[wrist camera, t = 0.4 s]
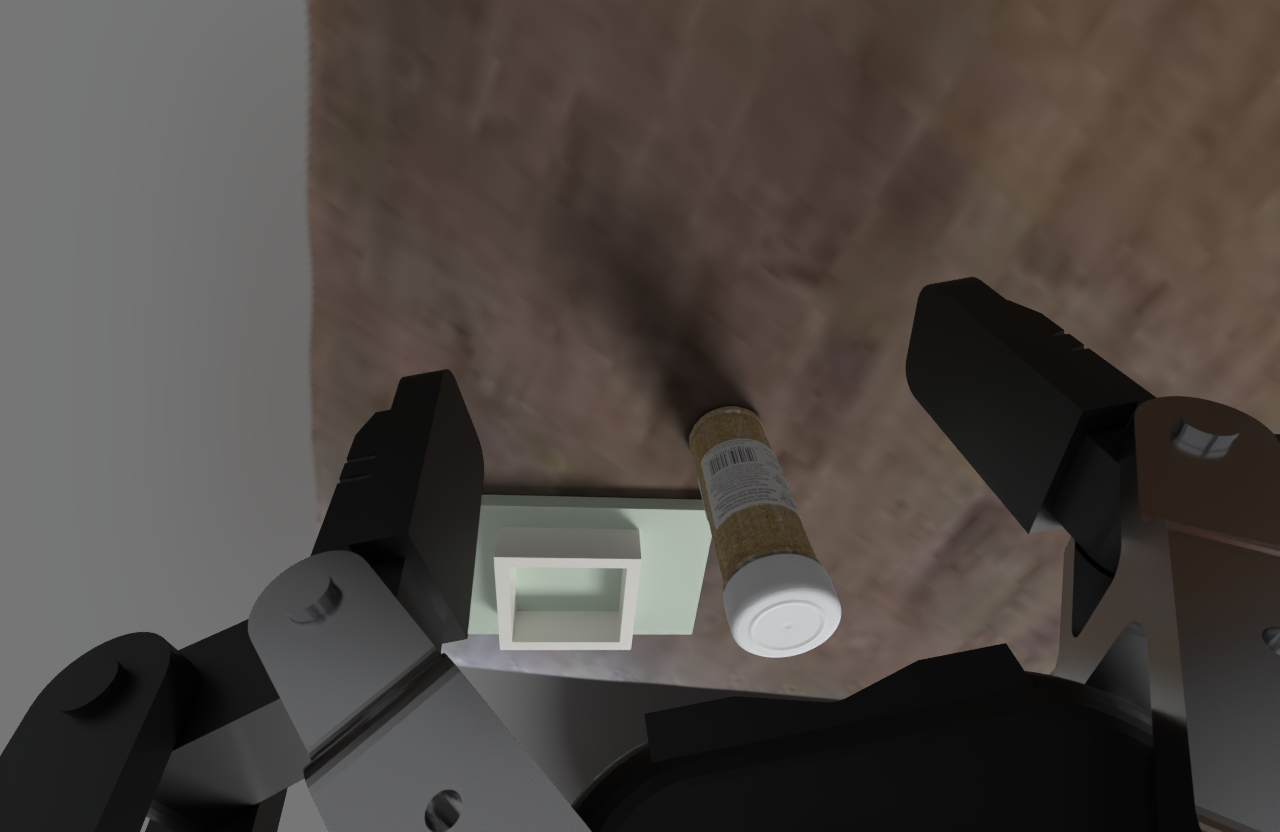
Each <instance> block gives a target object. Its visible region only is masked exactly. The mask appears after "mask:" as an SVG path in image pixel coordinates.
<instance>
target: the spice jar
mask: <svg viewBox="0 0 1280 832" xmlns="http://www.w3.org/2000/svg"><path fill="white" fill-rule="evenodd" d="M689 446H690V451H691V452H692V455H693V457H694V460H695V463H696V468H697V473H698V483H699V488H700V492H701V497H702V501H703V505H704V510H705V514H706V518H707V520H708V522H709V525H710V530H711V535H712V538H713V543H714V547H715V551H716V554H717V559H718V562H719V566H720V571H721V574H722V579H723V582H724V586H723V592H724V594H723V602H724V607H725V611H726V616H727V619H728V623H729V627H730V630H731V633H732V636H733V638H734V639H735V641H736V642H737V643H738V645H739V646H741V647H742V648H743V649H745V650H746V651H748V652H750V653H753V654H756V655H759V656H764V657H788V656H794V655H797V654H801V653H804V652H806V651H809V650H811V649H813V648H815V647H817V646H818V645H820V644H822V643H823V642H824V641H826V640H827V639H828V638H829V637H830V636H831V635H832V634H833V632H834V631H835V630H836V628H837V627H838V624H839V622H840V618H841V607H840V603H839V600H838V597H837V595H836V592H835V589H834V587H833V584H832V582H831V580H830V577H829V575H828V573H827V572H826V570H825V569H824V568H823V566H822V565H821V563H820V562H819V560H818V559H817V558H816V555H815V553H814V551H813V548H812V546H811V544H810V542H809V539H808V536H807V534H806V531H805V528H804V524H803V521H802V518H801V516H800V514H799V511H798V509H797V507H796V504H795V502H794V499H793V497H792V494H791V492H790V490H789V487H788V485H787V482H786V480H785V478H784V475H783V473H782V470H781V468H780V466H779V463H778V461H777V458H776V456H775V454H774V453H773V451H772V450H771V447H770V444H769V442H768V440H767V437H766V432H765V427H764V424H763V423H762V421H761V419H760V418H759V417H758V416H757V415H756V414H755V413H753V412H752V411H749V410H747V409H745V408H741V407H736V406H726V407H721V408H719V409H715V410H712V411H710V412H708V413H707V414H705V415H703V416H702V417H701V418H700V419H699V420H698V421H697V422H696V424H695V425H694V427H693V429H692V431H691V433H690V436H689Z"/></svg>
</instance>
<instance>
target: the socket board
mask: <svg viewBox="0 0 1280 832" xmlns="http://www.w3.org/2000/svg"><path fill="white" fill-rule="evenodd" d="M711 537H712V535H711V530H710V525H709V522H708V520H707V518H706V514H705V510H704V505H703V501H702V500H697V499H654V498H611V497H568V496H525V495H482V499H481V509H480V519H479V529H478V539H477V548H476V558H475V568H474V578H473V588H472V598H471V608H470V617H469V627H468V634H499V640H500V650H631V644H632V636H633V634H692V631H693V626H694V621H695V616H696V611H697V606H698V601H699V596H700V592H701V587H702V582H703V577H704V572H705V567H706V562H707V557H708V552H709V547H710V542H711Z"/></svg>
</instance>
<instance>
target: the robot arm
mask: <svg viewBox="0 0 1280 832" xmlns="http://www.w3.org/2000/svg"><path fill="white" fill-rule="evenodd" d="M906 377H907V381H908V385H909V388H910V390H911V392H912V394H913V396H914V397H915V398H916V399H917V401H918V402H919V403H920V404H921V405H922V407H923V408H924V409H925V410H926V411H927V413H928V414H929V415H930V416H931V417H932V419H933V420H934V421H935V422H936V423H937V425H938V426H939V427H940V428H941V429H942V431H943V432H944V433H945V434H946V435H947V437H948V438H949V439H950V440H951V441H952V443H953V444H954V445H955V446H956V447H957V449H958V450H959V451H960V452H961V453H962V455H963V456H964V457H965V458H966V460H967V461H968V462H969V463H970V464H971V466H972V467H973V468H974V469H975V470H976V472H977V473H978V474H979V475H980V476H981V478H982V479H983V480H984V481H985V482H986V484H987V485H988V486H989V487H990V488H991V490H992V491H993V492H994V493H995V494H996V496H997V497H998V498H999V499H1000V500H1001V502H1002V503H1003V504H1004V505H1005V506H1006V508H1007V509H1008V510H1009V511H1010V512H1011V514H1012V515H1013V516H1014V517H1015V518H1016V520H1017V521H1018V522H1019V523H1020V524H1021V526H1022V527H1023V528H1024V529H1025V530H1026V532H1027V533H1028V534H1033V533H1038V532H1043V531H1048V530H1054V529H1059V528H1064V529H1065V530H1066V531H1067V532H1068V533H1069V534H1070V535H1071V538H1070V540H1069V542H1068V544H1067V546H1066V548H1065V552H1064V566H1063V585H1062V604H1061V623H1060V642H1059V654H1058V659H1057V664H1056V668H1055V671H1054V674H1053V676H1052V675H1047V674H1041V673H1035V672H1028V671H1024V670H1023V668H1022V667H1021V665H1020V664H1019V662H1018V661H1017V659H1016V658H1015V656H1014V655H1013V653H1012V652H1011V650H1010V649H1009V647H1008V646H1007V644H1006V643H1005V644H999V645H994V646H989V647H984V648H979V649H974V650H969V651H964V652H958V653H953V654H948V655H943V656H938V657H933V658H928V659H923V660H918V661H916V662H914V663H912V664H910V665H908V666H907V667H905V668H903V669H901V670H899V671H897V672H895V673H893V674H891V675H889V676H887V677H886V678H884V679H882V680H880V681H878V682H876V683H874V684H872V685H870V686H868V687H866V688H865V689H863V690H861V691H859V692H857V693H855V694H853V695H851V696H849V697H847V698H845V699H843V700H840V701H837V702H812V701H797V700H782V699H767V698H752V697H737V696H734V697H729V698H723V699H718V700H713V701H708V702H703V703H698V704H693V705H688V706H682V707H677V708H672V709H667V710H662V711H657V712H652V713H646V714H645V721H646V728H647V735H648V741H646V742H644V743H642V744H641V745H639V746H636V747H635V748H633V749H631V750H630V751H628V752H627V753H625V754H624V755H622V756H621V757H619V758H618V759H616V760H615V761H614V762H612V763H611V764H610V765H609V766H607V767H606V768H605V769H604V770H603V771H602V772H601V773H600V774H599V775H597V776H596V777H595V778H594V779H593V780H592V781H591V782H590V783H589V785H588V786H587V787H586V788H585V789H584V790H583V791H582V792H581V794H580V795H579V796H578V797H577V798H576V800H575V801H574V802H573V804H572V805H571V806H570V804H569V803H568V802H567V801H566V800H565V798H564V797H563V796H562V795H561V793H560V792H559V791H558V790H557V789H556V787H555V786H554V785H553V784H552V782H551V781H550V780H549V779H548V778H547V776H546V775H545V774H544V773H543V771H542V770H541V769H540V768H539V767H538V765H537V764H536V763H535V762H534V760H533V759H532V758H531V757H530V756H529V754H528V753H527V752H526V751H525V749H524V748H523V747H522V746H521V744H520V743H519V742H518V741H517V740H516V738H515V737H514V736H513V735H512V734H511V732H510V731H509V730H508V728H507V727H506V726H505V725H504V724H503V723H502V721H501V720H500V719H499V718H498V716H497V715H496V714H495V713H494V711H493V710H492V709H491V708H490V706H489V705H488V704H487V703H486V702H485V700H484V699H483V698H482V697H481V695H480V694H479V693H478V692H477V691H476V689H475V688H474V687H473V686H472V684H471V683H470V682H469V681H468V680H467V678H466V677H465V676H464V675H463V673H462V672H461V671H460V670H459V669H458V667H457V666H456V665H455V664H454V663H453V661H452V660H451V659H450V658H449V657H448V656H447V655H446V654H445V653H443V654H441V647H442V644H443V643H448V642H453V641H459V640H464V639H467V637H468V627H469V617H470V608H471V598H472V588H473V578H474V568H475V558H476V548H477V539H478V529H479V519H480V509H481V499H482V489H483V480H484V461H483V454H482V449H481V445H480V441H479V438H478V436H477V433H476V430H475V428H474V425H473V423H472V420H471V418H470V415H469V413H468V410H467V407H466V405H465V402H464V400H463V397H462V395H461V392H460V390H459V387H458V384H457V382H456V380H455V377H454V376H453V374H452V372H451V371H450V370H448V369H445V370H440V371H434V372H428V373H423V374H417V375H412V376H406V377H403V378H401V380H400V382H399V385H398V388H397V391H396V394H395V397H394V400H393V404H392V407H391V410H386V411H381V412H376V413H375V414H374V415H373V416H372V417H371V418H370V419H369V421H368V422H367V423H366V424H365V425H364V426H363V427H362V428H361V429H360V431H359V432H358V433H357V434H356V435H355V438H354V440H353V443H352V446H351V448H350V451H349V454H348V457H347V463H345V465H344V467H343V470H342V473H341V475H340V478H339V479H340V483H339V484H337V486H336V489H335V492H334V494H333V497H332V500H331V502H330V505H329V508H328V510H327V513H326V516H325V518H324V521H323V524H322V526H321V529H320V532H319V535H318V537H317V540H316V543H315V545H314V548H313V551H312V554H311V556H310V557H308V558H306V559H304V560H301V561H299V562H298V563H296V564H294V565H293V566H291V567H289V568H288V569H286V570H285V571H284V572H282V573H281V574H280V575H279V576H277V577H276V578H275V579H274V580H273V581H272V582H271V583H270V584H269V585H268V586H267V587H266V588H265V589H264V591H263V592H262V593H261V595H260V596H259V597H258V599H257V601H256V602H255V604H254V606H253V608H252V610H251V613H250V616H249V619H247V620H245V621H243V622H241V623H239V624H237V625H234V626H232V627H230V628H228V629H225V630H223V631H221V632H219V633H216V634H214V635H212V636H210V637H207V638H205V639H203V640H201V641H199V642H196V643H194V644H192V645H189V646H187V647H185V648H183V649H180V650H177V649H176V648H174V647H173V646H172V645H171V644H170V643H169V642H167V641H166V640H165V639H164V638H163V637H161V636H159V635H157V634H155V633H150V632H137V633H131V634H126V635H123V636H120V637H117V638H114V639H112V640H110V641H107V642H105V643H103V644H101V645H99V646H97V647H95V648H93V649H92V650H90V651H88V652H87V653H85V654H84V655H82V656H81V657H79V658H78V659H76V660H75V661H74V662H72V663H71V664H70V665H68V666H67V667H66V668H65V669H64V670H63V671H61V672H60V673H59V674H58V675H57V676H56V677H55V678H54V679H53V680H52V681H51V682H50V683H49V684H48V685H47V686H46V687H45V688H44V689H43V691H42V692H41V693H40V694H39V695H38V697H37V698H36V700H35V701H34V702H33V704H32V705H31V707H30V708H29V710H28V712H27V713H26V715H25V716H24V718H23V720H22V722H21V723H20V725H19V726H18V728H17V730H16V731H15V733H14V735H13V736H12V738H11V739H10V741H9V743H8V744H7V746H6V748H5V749H4V751H3V753H2V754H1V756H0V832H140V830H141V828H142V825H143V822H144V820H145V818H146V817H148V818H150V820H149V823H148V826H147V828H146V831H145V832H277V829H278V825H279V821H280V817H281V813H282V809H283V805H284V801H285V797H286V792H287V788H288V787H289V786H291V785H293V784H294V783H297V782H298V781H300V780H302V779H304V778H305V781H306V784H307V787H308V789H309V791H310V794H311V796H312V798H313V800H314V802H315V804H316V806H317V808H318V810H319V812H320V814H321V817H322V819H323V821H324V823H325V825H326V827H327V829H328V831H329V832H1280V434H1273V433H1272V431H1270V430H1269V429H1268V428H1267V427H1266V426H1265V425H1263V424H1262V423H1261V422H1259V421H1258V420H1256V419H1255V418H1253V417H1251V416H1249V415H1247V414H1246V413H1243V412H1241V411H1239V410H1237V409H1235V408H1232V407H1229V406H1226V405H1224V404H1220V403H1217V402H1213V401H1209V400H1205V399H1200V398H1193V397H1183V396H1167V397H1159V398H1156V397H1155V396H1153V395H1152V394H1151V393H1149V392H1148V391H1147V390H1145V389H1144V388H1142V387H1141V386H1140V385H1138V384H1137V383H1136V382H1134V381H1133V380H1131V379H1130V378H1129V377H1127V376H1126V375H1125V374H1123V373H1122V372H1121V371H1119V370H1118V369H1116V368H1115V367H1114V366H1112V365H1111V364H1110V363H1108V362H1107V361H1106V360H1104V359H1103V358H1101V357H1100V356H1099V355H1097V354H1096V353H1095V352H1093V351H1092V350H1091V349H1089V348H1088V349H1084V344H1082V343H1081V342H1080V341H1078V340H1077V339H1076V338H1074V337H1073V336H1071V335H1070V334H1064V330H1063V329H1062V328H1061V327H1059V326H1058V325H1056V324H1055V323H1054V322H1052V321H1051V320H1050V319H1048V318H1047V317H1045V316H1044V315H1043V314H1041V313H1039V312H1037V311H1034V310H1032V309H1029V308H1027V307H1024V306H1022V305H1019V304H1017V303H1014V302H1012V301H1009V300H1006V299H1005V298H1003V297H1002V296H1001V295H999V294H998V293H997V292H995V291H994V290H993V289H991V288H990V287H989V286H987V285H986V284H985V283H983V282H982V281H981V280H979V279H978V278H975V277H969V278H963V279H958V280H952V281H946V282H941V283H935V284H930V285H927V286H925V287H924V288H923V289H922V290H921V292H920V294H919V297H918V301H917V306H916V312H915V317H914V322H913V328H912V333H911V338H910V343H909V349H908V354H907V359H906Z"/></svg>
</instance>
